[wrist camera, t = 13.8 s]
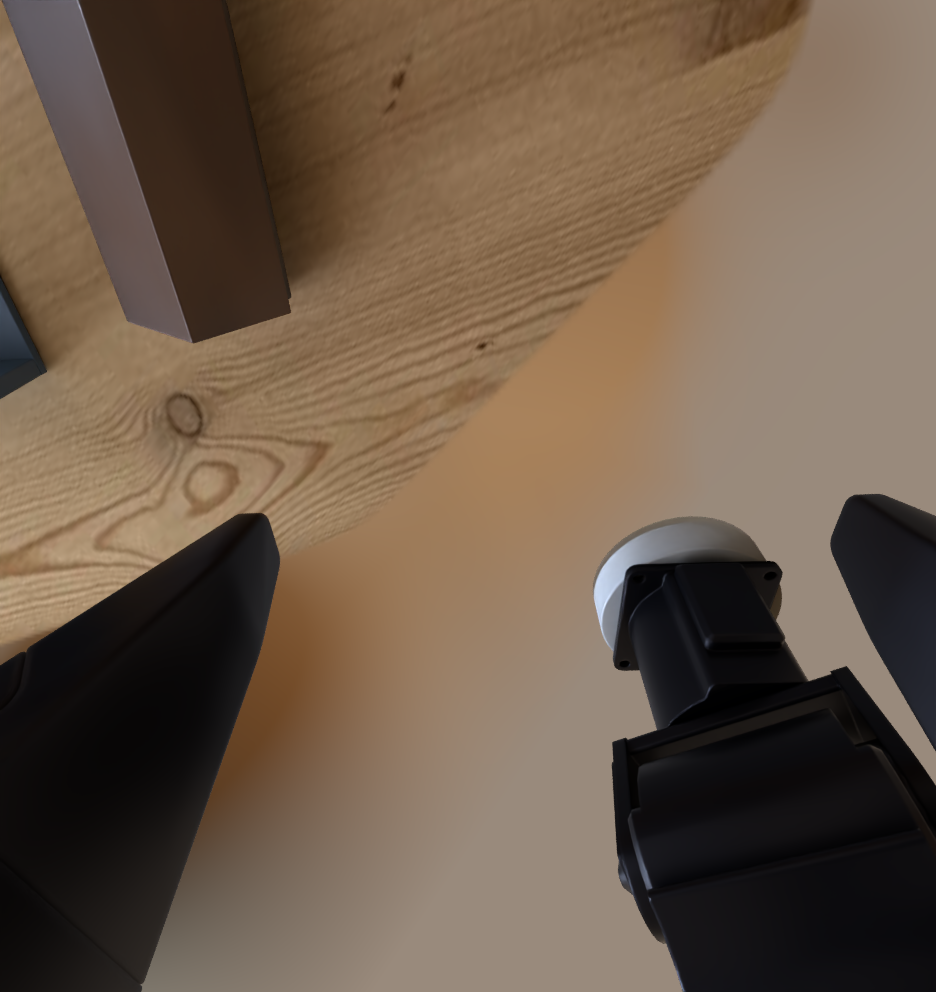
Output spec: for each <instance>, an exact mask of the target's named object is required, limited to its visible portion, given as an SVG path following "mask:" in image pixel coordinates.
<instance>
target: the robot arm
mask: <svg viewBox="0 0 936 992" xmlns="http://www.w3.org/2000/svg"><path fill="white" fill-rule="evenodd" d="M830 544H831V551H832V554H833V557H834V559H835V561H836V564H837V566H838V568H839V570H840V572H841V575H842V577H843V579H844V582H845V584H846V586H847V588H848V591H849V593H850V595H851V597H852V600H853V602H854V604H855V606H856V609H857V611H858V613H859V615H860V618H861V620H862V622H863V624H864V626H865V629H866V631H867V633H868V635H869V636H870V639H871V641H872V642H873V644H874V646H875V648H876V650H877V652H878V653H879V655H880V657H881V658H882V660H883V662H884V664H885V665H886V667H887V669H888V670H889V672H890V674H891V676H892V677H893V679H894V681H895V682H896V684H897V686H898V687H899V689H900V691H901V693H902V694H903V696H904V698H905V700H906V701H907V703H908V705H909V706H910V708H911V710H912V712H913V713H914V715H915V717H916V719H917V720H918V722H919V724H920V725H921V727H922V729H923V731H924V732H925V734H926V735H927V737H928V739H929V741H930V743H931V744H932V746H933V748H934V749H935V751H936V516H935V515H932V514H930V513H927V512H925V511H922V510H920V509H917V508H915V507H912V506H910V505H908V504H905V503H903V502H900V501H898V500H895V499H893V498H890V497H888V496H885V495H881V494H865V495H853V496H851V497H850V498H848V499H847V501H846V502H845V504H844V507H843V509H842V511H841V514H840V516H839V519H838V521H837V524H836V526H835V529H834V531H833V534H832V537H831V543H830ZM279 566H280V556H279V551H278V548H277V545H276V541H275V538H274V535H273V532H272V529H271V525H270V522H269V520H268V518H267V516H266V515H264V514H262V513H245V514H238V515H236V516H234V517H233V518H231V519H229V520H228V521H226V522H225V523H223V524H222V525H220V526H218V527H217V528H215V529H214V530H212V531H211V532H209V533H207V534H206V535H204V536H203V537H201V538H200V539H198V540H196V541H195V542H193V543H192V544H190V545H189V546H187V547H185V548H184V549H182V550H181V551H179V552H178V553H176V554H174V555H173V556H171V557H170V558H168V559H167V560H165V561H163V562H162V563H160V564H159V565H157V566H156V567H154V568H152V569H151V570H149V571H148V572H146V573H145V574H143V575H142V576H140V577H138V578H137V579H135V580H134V581H132V582H131V583H129V584H127V585H126V586H124V587H123V588H121V589H120V590H118V591H116V592H115V593H113V594H112V595H110V596H109V597H107V598H105V599H104V600H102V601H101V602H99V603H98V604H96V605H94V606H93V607H91V608H90V609H88V610H87V611H85V612H83V613H82V614H80V615H79V616H77V617H76V618H74V619H72V620H71V621H69V622H68V623H66V624H65V625H63V626H61V627H60V628H58V629H57V630H55V631H54V632H52V633H50V634H49V635H47V636H46V637H44V638H43V639H41V640H39V641H38V642H37V643H35V644H33V645H32V646H30V647H29V648H28V649H27V652H20V653H19V654H17V655H16V656H14V657H13V658H11V659H9V660H8V661H7V662H5V663H3V664H2V665H0V992H141V991H142V986H141V985H140V984H142V983H143V982H144V980H145V978H146V975H147V972H148V969H149V967H150V964H151V961H152V958H153V955H154V952H155V950H156V947H157V944H158V941H159V938H160V935H161V933H162V930H163V927H164V924H165V921H166V918H167V916H168V913H169V910H170V907H171V904H172V901H173V898H174V895H175V893H176V890H177V887H178V884H179V881H180V879H181V876H182V873H183V870H184V867H185V864H186V862H187V858H188V856H189V853H190V850H191V847H192V844H193V842H194V839H195V836H196V833H197V830H198V827H199V825H200V821H201V819H202V816H203V813H204V810H205V807H206V805H207V802H208V799H209V796H210V793H211V791H212V788H213V785H214V782H215V779H216V776H217V774H218V771H219V768H220V765H221V762H222V759H223V756H224V754H225V751H226V748H227V745H228V742H229V739H230V737H231V734H232V731H233V728H234V725H235V722H236V719H237V717H238V714H239V711H240V708H241V705H242V702H243V700H244V697H245V694H246V691H247V688H248V685H249V683H250V680H251V677H252V674H253V671H254V668H255V665H256V662H257V659H258V656H259V653H260V650H261V646H262V642H263V639H264V634H265V630H266V625H267V621H268V616H269V612H270V607H271V603H272V598H273V594H274V589H275V585H276V580H277V576H278V571H279ZM768 572H769V573H768ZM766 573H768V574H766ZM636 575H641V576H639V577H635V576H636ZM781 578H782V571H781V569H780V567H779V566H778V564H777V563H776V562H774V561H740V562H702V563H664V564H636V565H632V566H630V567H629V568H628V569H627V570H626V572H625V576H624V583H623V590H622V597H621V604H620V611H619V617H618V624H617V631H616V638H615V645H614V652H613V662H614V666H615V668H617V669H618V670H624V671H628V670H640V673H641V676H642V680H643V683H644V687H645V690H646V694H647V697H648V700H649V704H650V707H651V711H652V714H653V717H654V721H655V724H656V728H657V730H656V731H653V732H650V733H647V734H644V735H641V736H638V737H635V738H632V739H629V740H627V738H623V739H620V740H617V741H614V742H613V743H612V745H613V762H612V776H613V792H614V810H615V827H616V843H617V855H618V859H619V865H618V873H619V878H620V881H621V883H622V886H623V887H624V888H625V889H626V890H627V891H629V892H630V893H631V894H632V895H633V896H634V898H635V901H636V903H637V906H638V909H639V911H640V913H641V915H642V917H643V919H644V921H645V923H646V925H647V927H648V928H649V930H650V931H651V933H652V934H653V936H655V938H656V939H657V940H658V941H659V942H661V943H663V944H665V943H666V944H667V947H668V949H669V952H670V955H671V957H672V960H673V963H674V966H675V968H676V971H677V974H678V978H679V981H680V984H681V987H682V990H683V992H936V785H935V784H934V782H933V781H932V779H931V778H930V776H929V775H928V773H927V772H926V770H925V769H924V767H923V766H922V765H921V763H920V762H919V760H918V759H917V758H916V756H915V755H914V754H913V752H912V751H911V749H910V748H909V747H908V746H907V744H906V743H905V742H904V741H903V739H902V738H901V736H900V735H899V734H898V732H897V731H896V730H895V729H894V727H893V726H892V725H891V723H890V722H889V721H888V720H887V718H886V717H885V716H884V714H883V713H882V712H881V710H880V709H879V708H878V706H877V705H876V704H875V702H874V701H873V700H872V698H871V697H870V696H869V695H868V693H867V692H866V691H865V689H864V688H863V687H862V685H861V684H860V683H859V681H858V680H857V679H856V678H855V676H854V675H853V674H852V672H851V671H850V670H849V668H848V667H847V666H846V667H843V668H839V669H836V670H833V671H830V672H831V674H830V675H827V676H824V677H821V678H817V679H815V680H811V681H808V679H807V678H806V676H805V674H804V672H803V671H802V669H801V667H800V666H799V664H798V663H797V660H796V659H795V657H794V655H793V654H792V652H791V650H790V649H789V647H788V645H787V643H786V642H785V636H784V634H783V632H782V630H781V629H780V627H779V625H778V623H777V622H776V620H775V618H774V617H773V615H772V613H771V612H770V608H771V606H772V603H773V600H774V597H775V594H776V592H777V589H778V586H779V583H780V580H781Z"/></svg>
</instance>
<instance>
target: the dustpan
mask: <svg viewBox="0 0 936 992" xmlns="http://www.w3.org/2000/svg"><path fill="white" fill-rule="evenodd" d="M46 372H47V370H46V368H45V366H44V364H43V362H42V360H41V358H40V356H39V354H38V352H37V350H36V348H35V346H34V344H33V342H32V340H31V338H30V336H29V334H28V332H27V330H26V328H25V326H24V324H23V322H22V320H21V318H20V316H19V314H18V312H17V310H16V308H15V306H14V304H13V302H12V300H11V297H10V295H9V293H8V291H7V289H6V287H5V285H4V283H3V281H2V279H1V277H0V399H1V398H3V397H5V396H6V395H8V394H10V393H11V392H13V391H15V390H16V389H18V388H20V387H21V386H23V385H25V384H27V383H28V382H30V381H32V380H33V379H35V378H37V377H38V376H40V375H42V374H44V373H46Z"/></svg>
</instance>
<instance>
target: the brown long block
mask: <svg viewBox="0 0 936 992" xmlns="http://www.w3.org/2000/svg"><path fill="white" fill-rule="evenodd" d="M2 2H3V4H4V7H5V9H6V12H7V15H8V17H9V20H10V22H11V25H12V27H13V30H14V32H15V35H16V38H17V40H18V43H19V45H20V48H21V50H22V53H23V55H24V58H25V61H26V63H27V66H28V68H29V71H30V73H31V76H32V79H33V81H34V84H35V86H36V89H37V91H38V94H39V96H40V99H41V102H42V104H43V107H44V109H45V112H46V114H47V117H48V119H49V122H50V125H51V127H52V130H53V132H54V135H55V137H56V140H57V142H58V145H59V148H60V150H61V153H62V155H63V158H64V160H65V163H66V165H67V168H68V171H69V173H70V176H71V178H72V181H73V183H74V186H75V188H76V191H77V194H78V196H79V199H80V201H81V204H82V206H83V209H84V212H85V214H86V217H87V219H88V222H89V224H90V227H91V229H92V232H93V235H94V237H95V240H96V242H97V245H98V247H99V250H100V252H101V255H102V258H103V260H104V263H105V265H106V268H107V270H108V273H109V275H110V278H111V281H112V283H113V286H114V288H115V291H116V293H117V296H118V298H119V301H120V304H121V306H122V309H123V311H124V314H125V316H126V319H127V321H128V322H130V323H133V324H136V325H139V326H142V327H145V328H148V329H151V330H154V331H157V332H160V333H163V334H166V335H169V336H172V337H175V338H178V339H181V340H184V341H187V342H190V343H197V342H200V341H203V340H206V339H209V338H213V337H216V336H219V335H222V334H225V333H228V332H232V331H235V330H238V329H241V328H244V327H248V326H251V325H254V324H257V323H260V322H264V321H267V320H270V319H273V318H276V317H280V316H283V315H286V314H289V313H291V309H290V305H289V300H288V299H290V298H291V292H290V288H289V283H288V279H287V274H286V270H285V265H284V261H283V256H282V251H281V247H280V242H279V238H278V233H277V229H276V224H275V220H274V215H273V211H272V206H271V202H270V197H269V193H268V188H267V184H266V179H265V174H264V170H263V165H262V161H261V156H260V152H259V147H258V143H257V138H256V134H255V129H254V125H253V120H252V116H251V111H250V106H249V102H248V97H247V93H246V88H245V84H244V79H243V75H242V70H241V66H240V61H239V57H238V52H237V48H236V43H235V39H234V34H233V29H232V25H231V20H230V16H229V11H228V7H227V2H226V0H2Z"/></svg>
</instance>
